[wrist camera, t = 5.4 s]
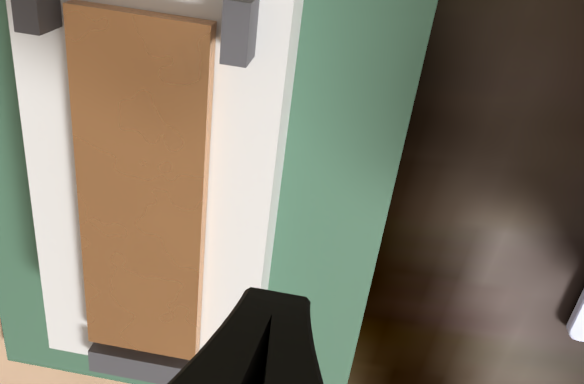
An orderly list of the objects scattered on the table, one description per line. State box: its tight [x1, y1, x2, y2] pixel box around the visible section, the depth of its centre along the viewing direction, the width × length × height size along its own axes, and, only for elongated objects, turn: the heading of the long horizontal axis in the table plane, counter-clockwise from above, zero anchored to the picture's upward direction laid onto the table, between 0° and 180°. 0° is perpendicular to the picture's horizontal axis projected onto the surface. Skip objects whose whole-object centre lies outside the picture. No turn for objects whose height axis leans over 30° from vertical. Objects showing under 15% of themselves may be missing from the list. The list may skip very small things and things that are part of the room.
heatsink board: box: [0, 0, 438, 384], centre depth 18 cm, size 16×26×5 cm, turn 173°
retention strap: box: [63, 0, 217, 360], centre depth 18 cm, size 4×12×1 cm, turn 173°
